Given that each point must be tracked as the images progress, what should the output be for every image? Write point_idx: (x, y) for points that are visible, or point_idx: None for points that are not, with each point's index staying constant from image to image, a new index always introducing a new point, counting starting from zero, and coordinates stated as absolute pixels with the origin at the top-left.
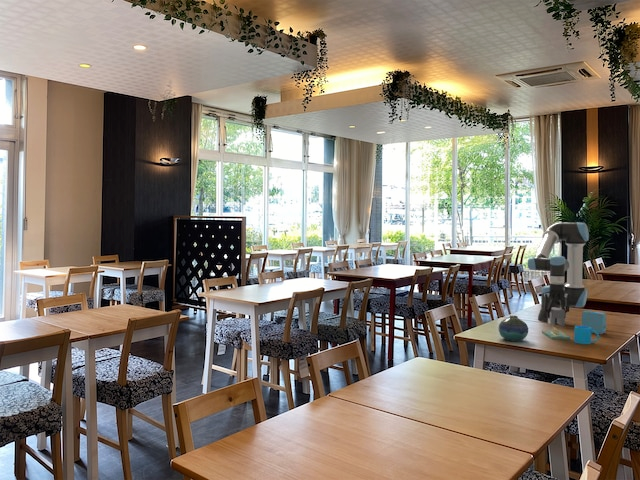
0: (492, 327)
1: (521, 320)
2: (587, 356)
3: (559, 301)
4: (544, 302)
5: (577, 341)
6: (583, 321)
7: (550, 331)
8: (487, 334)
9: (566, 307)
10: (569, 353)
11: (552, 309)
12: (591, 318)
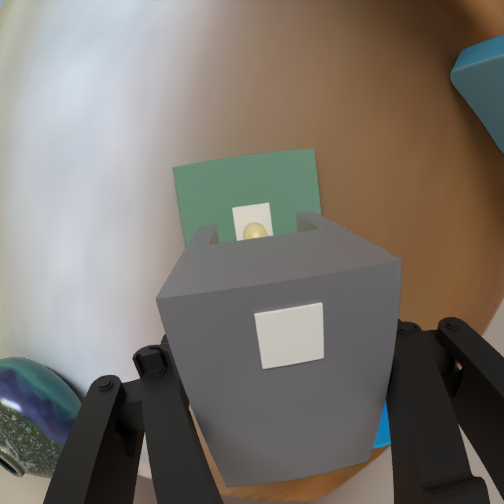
0: None
1: (43, 469)
2: (287, 499)
3: (415, 494)
4: (68, 495)
5: None
6: (490, 72)
7: (236, 186)
8: None
9: (470, 359)
10: (244, 495)
11: (218, 462)
12: None
